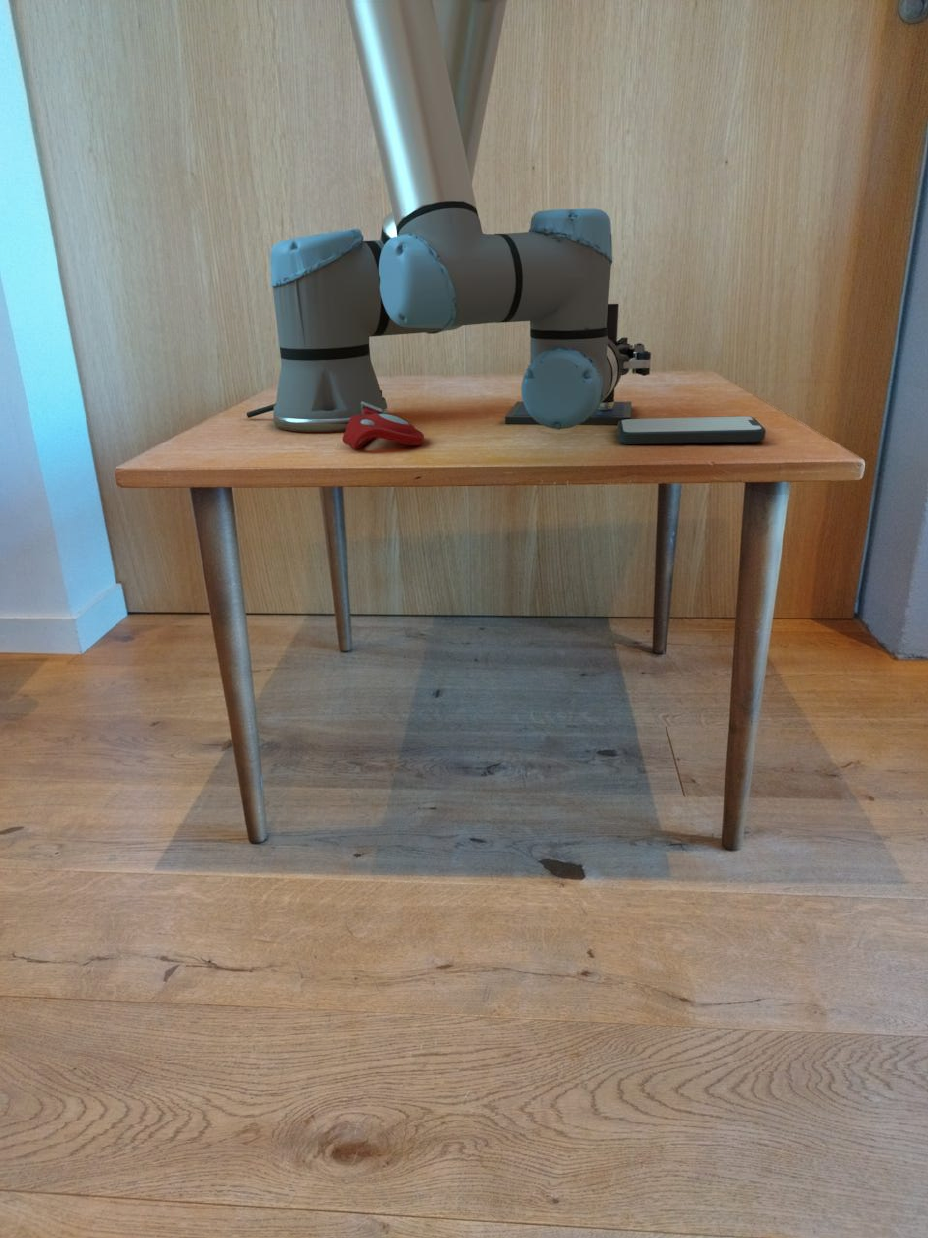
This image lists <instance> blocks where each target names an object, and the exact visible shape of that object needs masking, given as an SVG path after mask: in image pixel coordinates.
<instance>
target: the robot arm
mask: <svg viewBox="0 0 928 1238" xmlns="http://www.w3.org/2000/svg"><path fill="white" fill-rule="evenodd" d="M344 2H345V7H346V12H347V15H348V19H349V24H350V29H351V33H352V39H353V43H354V48H355V52H356V55H357V60H358V65H359V68H360V74H361V77H362V84H363V87H364V91H365V97H366V101H367V106H368V109H369V110H368V111H369V115H370V118H371V123H372V128H373V132H374V137H375V142H376V145H377V151H378V155H379V159H380V163H381V168H382V172H383V177H384V182H385V186H386V190H387V191H386V192H387V195H388V200H389V205H390V209H391V212H389V213H388V214H386V215H385V216H384V218H383V220H382V226H381V233H380V238H379V239H376V240H375V239H374V240H373V239H372V240H364V235H363V234H362V231H361V229H359V228H349V229H343V230H342V229H341V230H337V231H330V232H325V233H318V234H312V235H311V234H310V235H306V236H300V237H293V238H289V239H284V240H280V241H278V242H276V243H275V244H274V245H273V246H272V248H271V249H270V254H269V261H270V287H272V295H273V304H274V311H275V320H276V326H277V327H276V329H277V336H278V346H279V354H280V362H281V363H280V364H281V365H280V366H281V367H280V371H279V372H280V373H279V379H278V384H277V390H276V391H277V392H276V401H275V403H273V404H270V405H267V406H263V407H260V408H257V409H254V410H251V411H248V412H246V417H247V418H248V419H251V418H253V417H256V416H260V415H262V414H265V413H269V412H271V411H272V415H273V423H274V424H273V425H274V427H276V428H277V429H280V430H284V431H285V430H286V431H292V432H299V433H300V432H303V433H327V432H343V431H346V429H347V425H348V422H349V419H350V418H351V417H353V416H355V415H359V414H362V407H361V402H365V403H367V404H370V405H372V406H375V407H377V408H380V409H382V410H383V413H385V414H389V408H388V403H387V401H386V398H385V397H384V396H383V389H381V387H380V385H379V381H378V379H377V375H376V372H375V370H374V367H373V364H372V358H371V348H370V338H372V337H384V336H396V335H410V334H422V333H423V334H424V333H426V334H428V335H429V334H430V335H434V334H439V333H442V332H446V331H454V330H457V329H460V328H461V327H463V326H473V325H483V324H485V325H486V324H500V323H518V322H529V337H530V342H529V343H530V344H529V346H530V347H529V348H530V351H529V353H530V355H529V356H530V357H529V365H528V366H527V368H526V369H525V370H526V371H525V373H524V375H523V377H522V380H521V388H520V389H521V392H520V393H521V399H522V401H523V403H524V406H525V408H526V410H527V411H528V413H529V414H530V415H531V416H532V417H533V418H534V419H535V420H536V421H537V422H538V423H540V424H539V425H542V426H544V427H546V428H549V429H554V430H566V429H571V428H573V427H577V426H578V425H581V424H580V423H582V422H584V421H585V420H587V419H589V418H590V417H592V416H593V415H594V414H595V411H597V409H598V407H599V406H600V404H601V403H602V402H603V400H604V399H605V398H606V397H607V396H608V395H609V394H610V393H611V392H612V391H613V389H614V390H615V388H616V387H617V386H618V384H619V382H620V379H621V377H622V376H625V375H627V374H628V373H629V371H630V370H632V371H631V373H632V374H633V375H640V376H642V377H646V376H647V375H648V376H649V375H651V357H652V352H650V351H648V350H646V348H645V344H643V343H640V342H638V343H636V344H634V345H632V344H630V343H628V339H629V338H628V337H621V338H619V339H617V342H616V344H614V343H613V342H612V341H611V340H610V339H608V335H607V331H608V327H607V314H608V304H609V296H610V283H611V268H612V264H613V247H612V246H613V245H612V243H613V242H612V241H613V240H612V226H611V225H612V224H611V219H610V216H609V214H607V212H606V211H604V210H603V209H599V208H557V209H556V208H555V209H545V210H544V209H543V210H538V211H536V212H534V214H533V215H532V216H531V218H530V226H529V229H528V231H525V232H509V233H508V232H507V233H494V234H493V233H492V234H490V233H484V232H483V229H482V228H483V227H482V224H481V223H482V222H481V219H480V217H479V212H478V207H477V203H476V198H475V194H474V189H473V179H474V174H475V169H476V164H477V158H478V154H479V149H480V143H481V140H482V139H481V138H482V132H483V128H484V122H485V116H486V112H487V107H488V102H489V98H490V97H489V95H490V91H491V87H492V81H493V76H494V71H495V64H496V61H497V60H496V59H497V54H498V51H499V50H498V49H499V45H500V39H501V35H502V29H503V24H504V19H505V13H506V9H507V3H508V0H344Z"/></svg>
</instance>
